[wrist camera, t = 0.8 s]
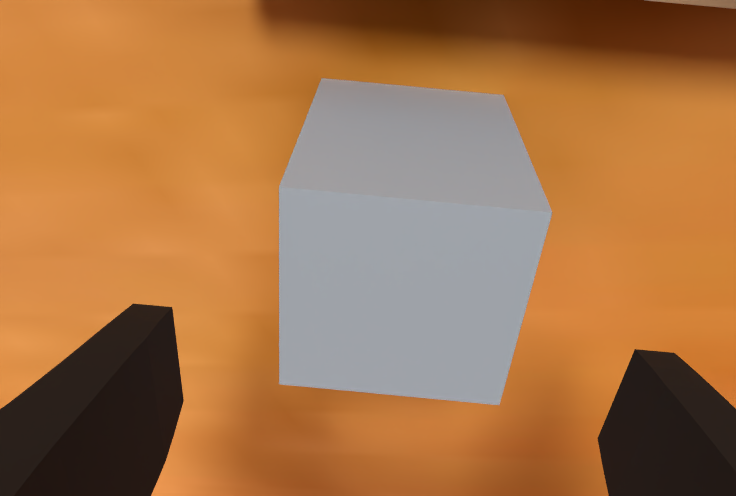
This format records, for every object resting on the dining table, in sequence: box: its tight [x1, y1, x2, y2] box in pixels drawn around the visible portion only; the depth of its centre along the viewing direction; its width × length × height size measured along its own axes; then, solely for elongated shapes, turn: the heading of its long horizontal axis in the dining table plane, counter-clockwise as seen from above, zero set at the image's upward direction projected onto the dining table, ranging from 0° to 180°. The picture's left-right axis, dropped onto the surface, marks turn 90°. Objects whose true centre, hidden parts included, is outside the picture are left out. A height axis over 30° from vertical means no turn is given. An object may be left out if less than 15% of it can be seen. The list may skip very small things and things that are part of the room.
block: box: [279, 78, 552, 405], centre depth 14 cm, size 4×4×6 cm
